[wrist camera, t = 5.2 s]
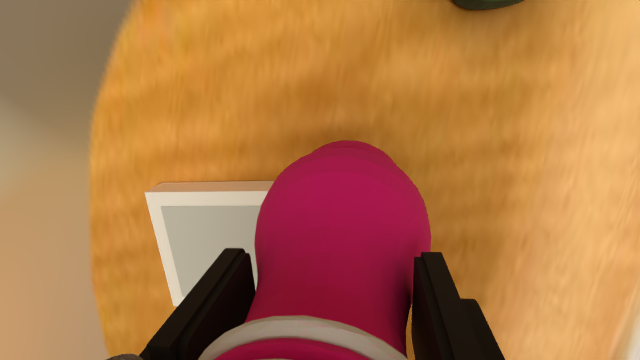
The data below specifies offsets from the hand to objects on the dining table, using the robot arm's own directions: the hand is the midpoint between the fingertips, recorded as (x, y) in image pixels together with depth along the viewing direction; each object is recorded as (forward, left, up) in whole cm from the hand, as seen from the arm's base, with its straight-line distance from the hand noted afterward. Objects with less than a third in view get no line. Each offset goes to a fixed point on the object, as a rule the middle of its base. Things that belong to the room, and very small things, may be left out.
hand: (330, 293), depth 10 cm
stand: (+14, +11, -22) cm, 28 cm away
